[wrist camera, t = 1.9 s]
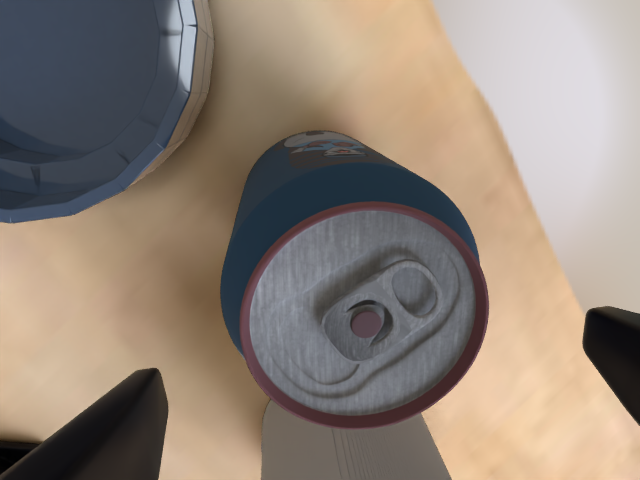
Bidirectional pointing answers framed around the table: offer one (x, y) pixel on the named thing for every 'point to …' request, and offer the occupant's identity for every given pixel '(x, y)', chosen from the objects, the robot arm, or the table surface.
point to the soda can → (351, 284)
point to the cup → (347, 450)
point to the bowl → (94, 97)
